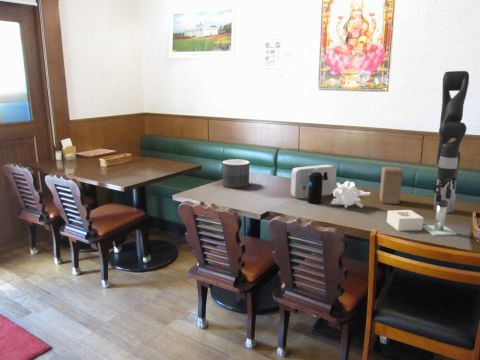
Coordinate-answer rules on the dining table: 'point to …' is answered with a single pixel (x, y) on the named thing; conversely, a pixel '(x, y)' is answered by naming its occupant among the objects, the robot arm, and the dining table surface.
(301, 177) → the rounded white slab
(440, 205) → the key peg
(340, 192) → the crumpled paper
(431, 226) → the mat
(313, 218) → the dining table surface
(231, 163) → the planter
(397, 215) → the socket
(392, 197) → the wooden block
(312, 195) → the black tall cylinder
